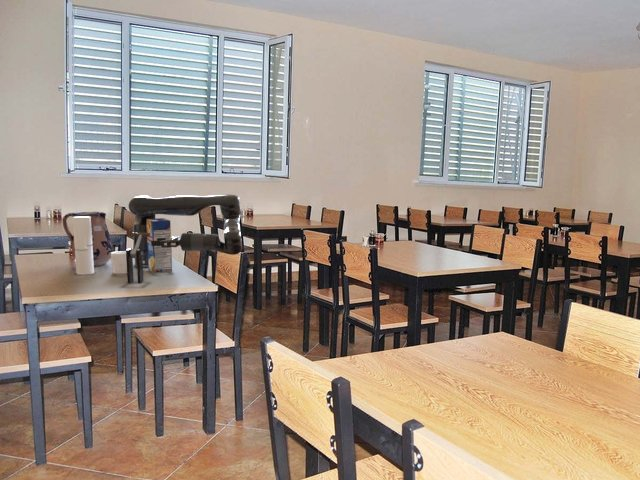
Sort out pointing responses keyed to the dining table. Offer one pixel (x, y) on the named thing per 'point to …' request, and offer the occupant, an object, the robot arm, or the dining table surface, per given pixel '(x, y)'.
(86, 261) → the cylindrical container
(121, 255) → the white cup
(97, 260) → the ceramic pitcher
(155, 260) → the juice carton
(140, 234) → the lever
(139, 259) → the bracket
